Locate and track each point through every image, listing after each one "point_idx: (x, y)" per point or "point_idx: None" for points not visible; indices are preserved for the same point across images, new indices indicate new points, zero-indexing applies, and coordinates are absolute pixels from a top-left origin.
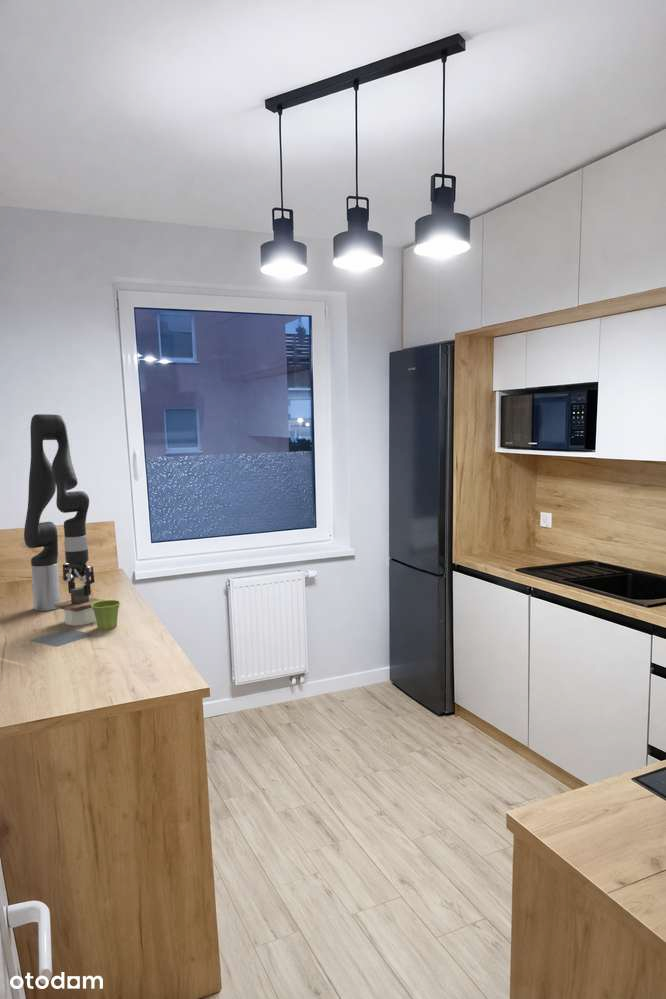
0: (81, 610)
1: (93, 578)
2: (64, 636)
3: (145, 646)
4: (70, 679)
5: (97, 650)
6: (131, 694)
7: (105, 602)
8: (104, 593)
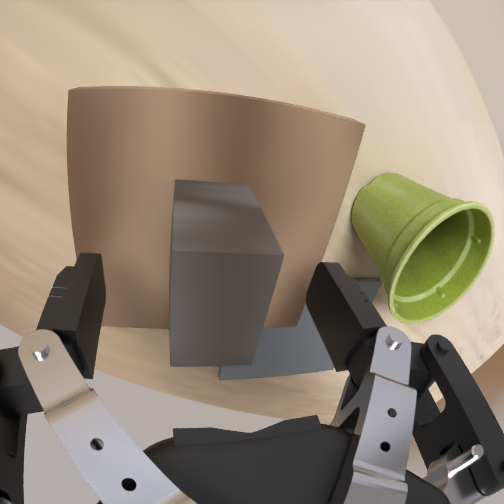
0: None
1: (462, 373)
2: (297, 332)
3: (494, 273)
4: None
5: (423, 329)
6: (480, 361)
7: (425, 226)
8: None
